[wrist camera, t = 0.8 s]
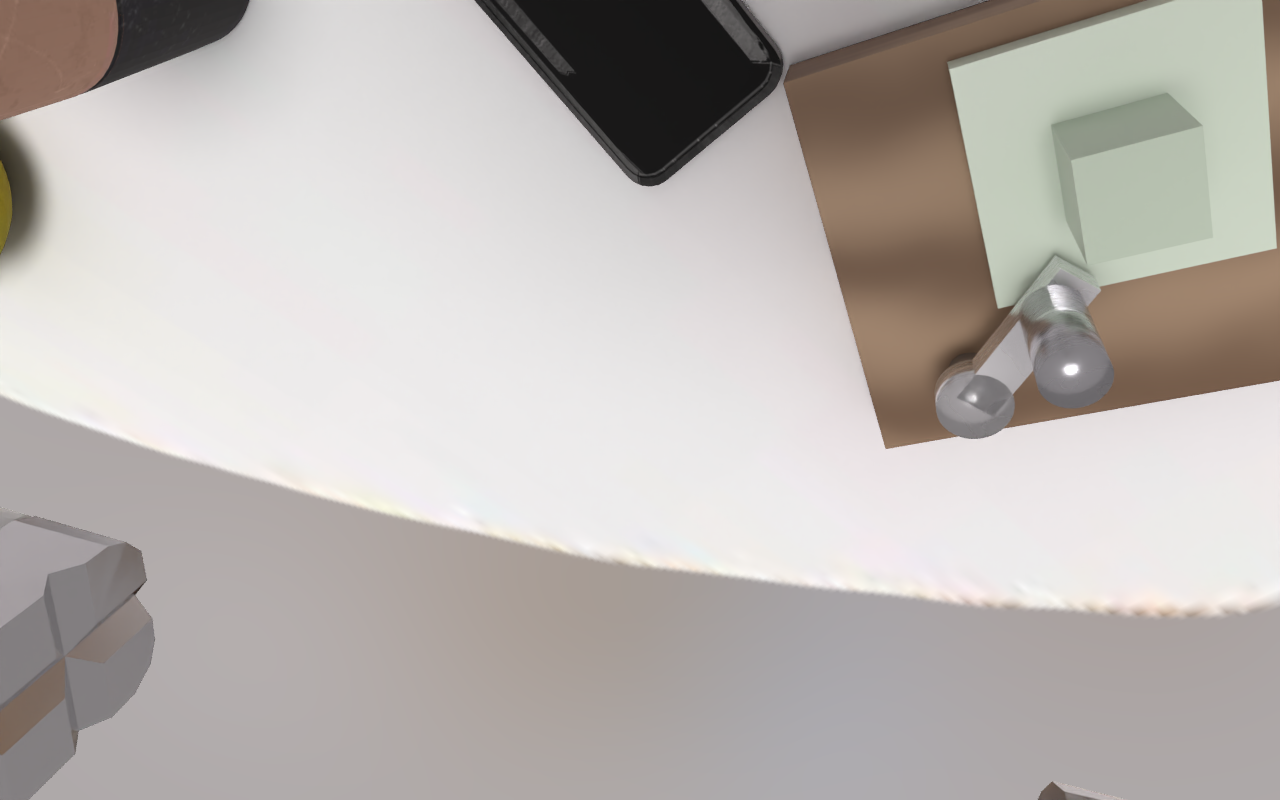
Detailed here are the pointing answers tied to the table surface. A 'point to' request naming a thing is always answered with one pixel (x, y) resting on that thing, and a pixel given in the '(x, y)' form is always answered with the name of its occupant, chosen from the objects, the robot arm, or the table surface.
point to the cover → (1121, 143)
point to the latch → (1030, 356)
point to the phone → (646, 71)
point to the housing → (953, 242)
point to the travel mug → (97, 43)
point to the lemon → (4, 206)
